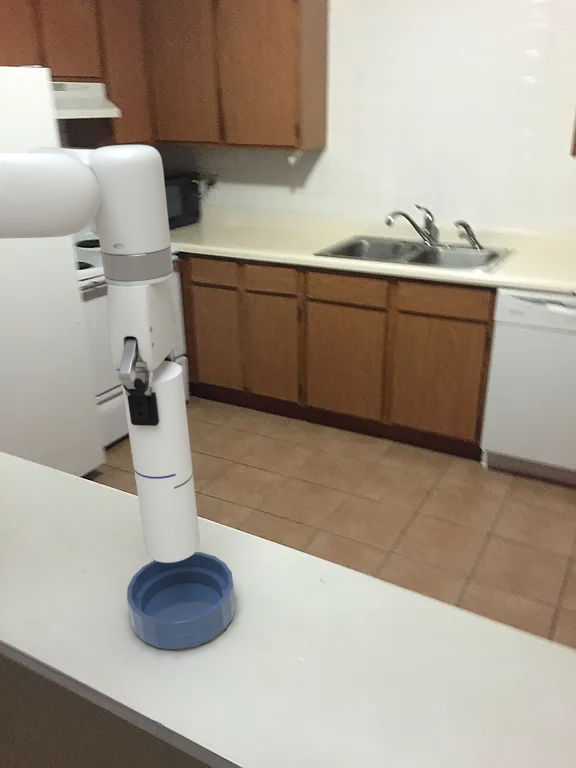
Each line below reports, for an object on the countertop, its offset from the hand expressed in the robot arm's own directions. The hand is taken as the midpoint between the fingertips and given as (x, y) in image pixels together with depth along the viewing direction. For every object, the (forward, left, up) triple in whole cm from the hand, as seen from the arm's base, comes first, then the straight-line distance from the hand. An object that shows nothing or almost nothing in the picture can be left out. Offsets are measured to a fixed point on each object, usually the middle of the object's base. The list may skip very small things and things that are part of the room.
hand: (156, 408), depth 81 cm
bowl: (+1, 0, -31) cm, 31 cm away
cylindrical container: (0, 0, -20) cm, 20 cm away
